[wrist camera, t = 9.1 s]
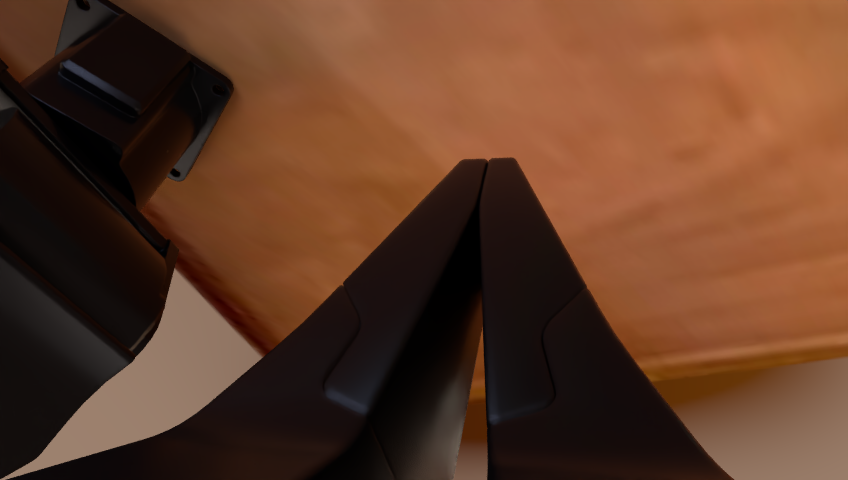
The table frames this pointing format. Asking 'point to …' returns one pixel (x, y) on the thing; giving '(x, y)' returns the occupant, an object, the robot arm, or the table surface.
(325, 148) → the table surface
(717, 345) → the table surface
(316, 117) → the table surface
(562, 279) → the robot arm
